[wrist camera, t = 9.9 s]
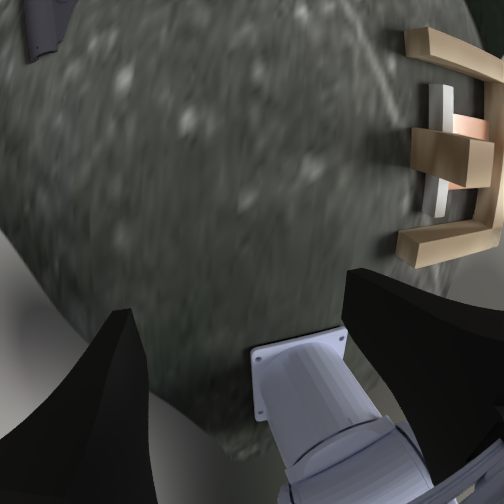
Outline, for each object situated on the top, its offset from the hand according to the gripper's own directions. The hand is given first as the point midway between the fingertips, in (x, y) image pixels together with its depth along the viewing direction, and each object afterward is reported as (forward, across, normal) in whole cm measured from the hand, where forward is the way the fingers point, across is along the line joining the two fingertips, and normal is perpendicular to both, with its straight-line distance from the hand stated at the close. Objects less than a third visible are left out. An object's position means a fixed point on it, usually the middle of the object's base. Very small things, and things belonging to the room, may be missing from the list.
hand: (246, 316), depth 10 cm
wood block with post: (+10, -17, -4) cm, 20 cm away
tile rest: (+9, -21, -4) cm, 23 cm away
